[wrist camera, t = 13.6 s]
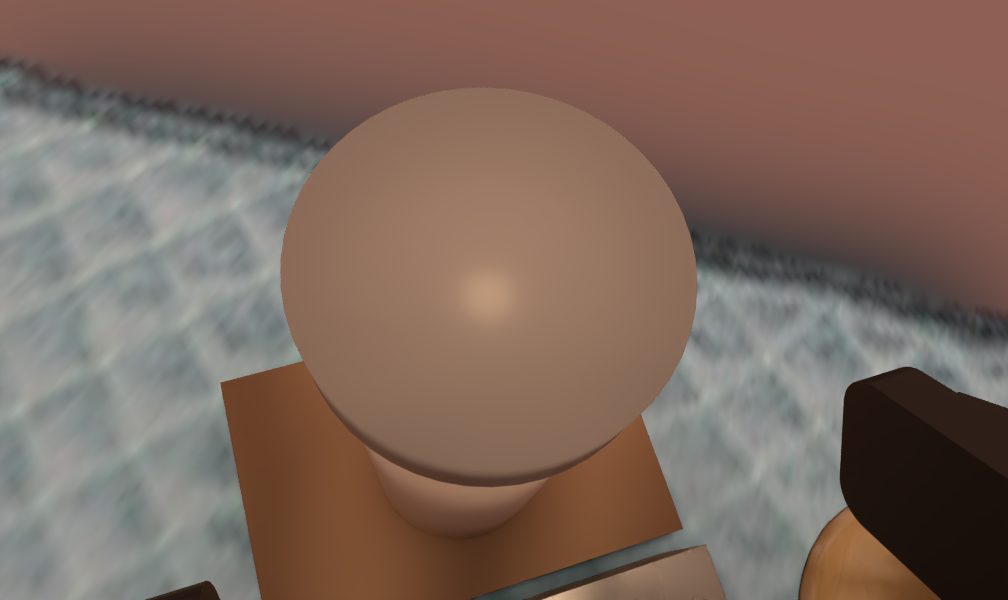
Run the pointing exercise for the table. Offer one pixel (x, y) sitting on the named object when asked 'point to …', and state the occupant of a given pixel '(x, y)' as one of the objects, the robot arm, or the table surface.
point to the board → (391, 539)
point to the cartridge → (485, 296)
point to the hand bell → (856, 567)
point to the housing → (649, 580)
